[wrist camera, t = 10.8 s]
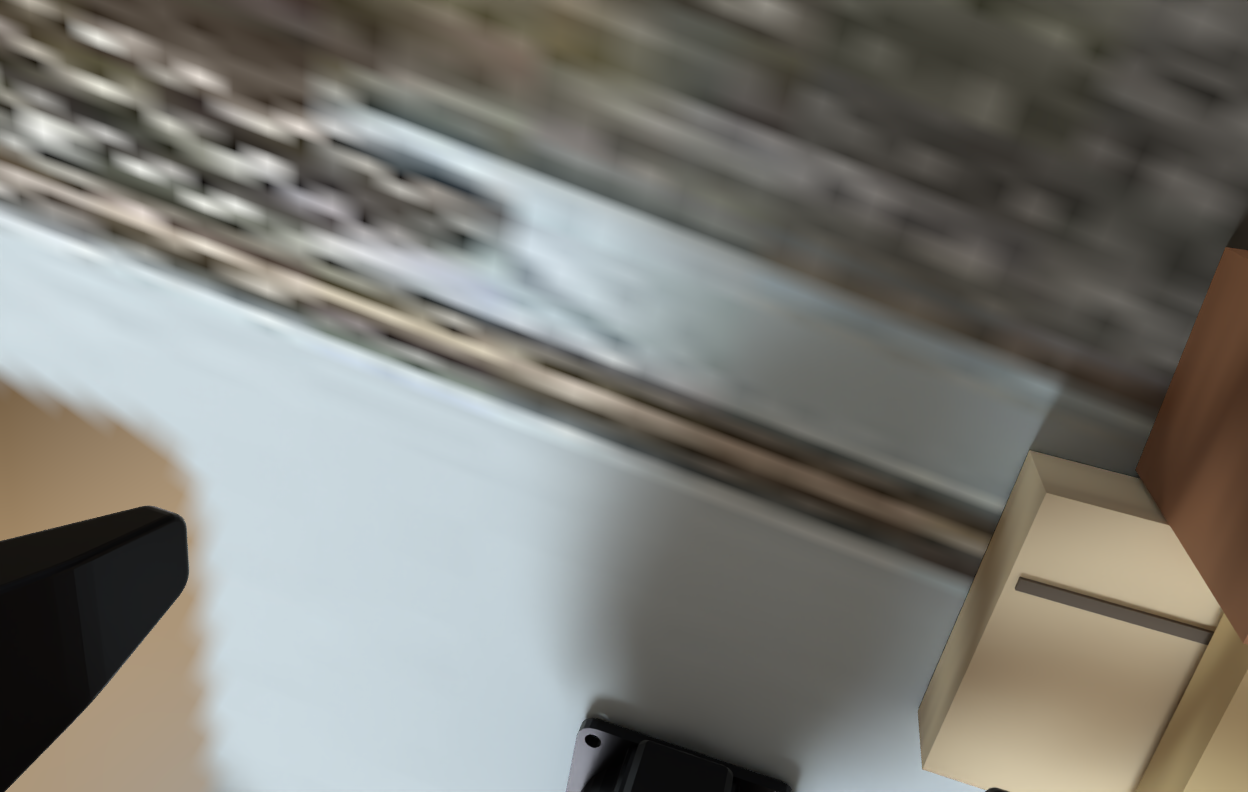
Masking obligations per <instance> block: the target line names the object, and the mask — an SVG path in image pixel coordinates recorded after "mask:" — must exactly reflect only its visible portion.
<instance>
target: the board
mask: <svg viewBox="0 0 1248 792" xmlns="http://www.w3.org/2000/svg"><path fill="white" fill-rule="evenodd" d="M1223 614H1224V612H1223V610H1222V609H1221V607H1220V605H1219V604H1218V602H1217V601H1216V599H1215V597H1214V596H1213V594H1212V593H1211V591H1210V589H1209V588H1208V586H1207V585H1206V583H1205V581H1204V580H1203V578H1202V576H1201V575H1200V573H1199V572H1198V570H1197V568H1196V567H1195V565H1194V564H1193V562H1192V560H1191V559H1190V557H1189V556H1188V554H1187V552H1186V551H1185V549H1184V548H1183V546H1182V544H1181V543H1180V541H1179V539H1178V538H1177V536H1176V535H1175V533H1174V531H1173V530H1172V528H1171V527H1170V525H1169V523H1168V522H1167V520H1166V519H1165V517H1164V515H1163V514H1162V512H1161V511H1160V509H1159V507H1158V506H1157V504H1156V502H1155V501H1154V499H1153V498H1152V496H1151V494H1150V493H1149V491H1148V490H1147V488H1146V486H1145V485H1144V483H1143V482H1142V480H1141V479H1139V478H1136V477H1132V476H1128V475H1124V474H1120V473H1116V472H1112V471H1108V470H1105V469H1101V468H1097V467H1093V466H1089V465H1085V464H1081V463H1077V462H1074V461H1070V460H1066V459H1062V458H1058V457H1054V456H1050V455H1046V454H1043V453H1039V452H1035V451H1031V450H1029V452H1028V455H1027V457H1026V459H1025V462H1024V464H1023V466H1022V469H1021V471H1020V473H1019V476H1018V478H1017V480H1016V483H1015V485H1014V487H1013V490H1012V492H1011V494H1010V497H1009V499H1008V501H1007V504H1006V506H1005V508H1004V511H1003V513H1002V515H1001V518H1000V520H999V522H998V525H997V527H996V530H995V532H994V534H993V537H992V539H991V541H990V544H989V546H988V548H987V551H986V553H985V555H984V558H983V560H982V562H981V565H980V567H979V569H978V572H977V574H976V576H975V579H974V581H973V583H972V586H971V588H970V590H969V593H968V595H967V597H966V600H965V602H964V604H963V607H962V609H961V611H960V614H959V616H958V618H957V621H956V623H955V625H954V628H953V630H952V632H951V635H950V637H949V639H948V642H947V644H946V646H945V649H944V651H943V653H942V656H941V658H940V660H939V663H938V665H937V667H936V670H935V672H934V674H933V677H932V679H931V681H930V684H929V686H928V688H927V691H926V693H925V695H924V698H923V700H922V702H921V705H920V707H919V709H918V720H919V733H920V746H921V760H922V769H923V770H926V771H929V772H932V773H935V774H938V775H941V776H944V777H947V778H950V779H953V780H957V781H960V782H963V783H966V784H969V785H972V786H975V787H978V788H981V789H984V790H988V789H989V788H993V787H996V788H1000V789H1003V790H1006V791H1009V792H1136V790H1137V788H1138V786H1139V784H1140V782H1141V780H1142V778H1143V776H1144V774H1145V771H1146V769H1147V767H1148V765H1149V763H1150V761H1151V759H1152V757H1153V755H1154V753H1155V751H1156V749H1157V747H1158V745H1159V743H1160V741H1161V739H1162V737H1163V735H1164V733H1165V731H1166V729H1167V727H1168V725H1169V723H1170V721H1171V719H1172V717H1173V715H1174V713H1175V711H1176V709H1177V707H1178V705H1179V703H1180V701H1181V699H1182V697H1183V695H1184V693H1185V691H1186V689H1187V687H1188V685H1189V683H1190V681H1191V679H1192V677H1193V675H1194V673H1195V671H1196V669H1197V667H1198V665H1199V663H1200V661H1201V659H1202V657H1203V654H1204V652H1205V650H1206V648H1207V646H1208V644H1209V642H1210V640H1211V638H1212V636H1213V634H1214V632H1215V630H1216V628H1217V626H1218V624H1219V622H1220V620H1221V618H1222V616H1223Z"/></svg>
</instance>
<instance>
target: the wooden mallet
mask: <svg viewBox="0 0 1248 792" xmlns="http://www.w3.org/2000/svg"><path fill="white" fill-rule="evenodd" d="M1135 470H1136V472H1137V474H1138V475H1139V477H1140V478H1141V480H1142V482H1143V483H1144V485H1145V486H1146V488H1147V490H1148V491H1149V493H1150V494H1151V496H1152V498H1153V499H1154V501H1155V502H1156V504H1157V506H1158V507H1159V509H1160V511H1161V512H1162V514H1163V515H1164V517H1165V519H1166V520H1167V522H1168V523H1169V525H1170V527H1171V528H1172V530H1173V531H1174V533H1175V535H1176V536H1177V538H1178V539H1179V541H1180V543H1181V544H1182V546H1183V548H1184V549H1185V551H1186V552H1187V554H1188V556H1189V557H1190V559H1191V560H1192V562H1193V564H1194V565H1195V567H1196V568H1197V570H1198V572H1199V573H1200V575H1201V576H1202V578H1203V580H1204V581H1205V583H1206V585H1207V586H1208V588H1209V589H1210V591H1211V593H1212V594H1213V596H1214V597H1215V599H1216V601H1217V602H1218V604H1219V605H1220V607H1221V609H1222V610H1223V612H1224V614H1223V616H1222V618H1221V620H1220V622H1219V624H1218V626H1217V628H1216V630H1215V632H1214V634H1213V636H1212V638H1211V640H1210V642H1209V644H1208V646H1207V648H1206V650H1205V652H1204V654H1203V657H1202V659H1201V661H1200V663H1199V665H1198V667H1197V669H1196V671H1195V673H1194V675H1193V677H1192V679H1191V681H1190V683H1189V685H1188V687H1187V689H1186V691H1185V693H1184V695H1183V697H1182V699H1181V701H1180V703H1179V705H1178V707H1177V709H1176V711H1175V713H1174V715H1173V717H1172V719H1171V721H1170V723H1169V725H1168V727H1167V729H1166V731H1165V733H1164V735H1163V737H1162V739H1161V741H1160V743H1159V745H1158V747H1157V749H1156V751H1155V753H1154V755H1153V757H1152V759H1151V761H1150V763H1149V765H1148V767H1147V769H1146V771H1145V774H1144V776H1143V778H1142V780H1141V782H1140V784H1139V786H1138V788H1137V790H1136V792H1248V250H1242V249H1235V248H1229V247H1225V250H1224V252H1223V255H1222V257H1221V260H1220V262H1219V265H1218V267H1217V269H1216V272H1215V274H1214V277H1213V279H1212V282H1211V284H1210V287H1209V289H1208V292H1207V294H1206V297H1205V299H1204V302H1203V304H1202V307H1201V309H1200V311H1199V314H1198V316H1197V319H1196V321H1195V324H1194V326H1193V329H1192V331H1191V334H1190V336H1189V339H1188V341H1187V344H1186V346H1185V348H1184V351H1183V353H1182V356H1181V358H1180V361H1179V363H1178V366H1177V368H1176V371H1175V373H1174V376H1173V378H1172V381H1171V383H1170V386H1169V388H1168V390H1167V393H1166V395H1165V398H1164V400H1163V403H1162V405H1161V408H1160V410H1159V413H1158V415H1157V418H1156V420H1155V423H1154V425H1153V427H1152V430H1151V432H1150V435H1149V437H1148V440H1147V442H1146V445H1145V447H1144V450H1143V452H1142V455H1141V457H1140V460H1139V462H1138V464H1137V467H1136V469H1135Z"/></svg>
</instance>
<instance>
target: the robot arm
mask: <svg viewBox="0 0 1248 792" xmlns="http://www.w3.org/2000/svg"><path fill="white" fill-rule="evenodd" d="M188 575H189V561H188V544H187V528H186V523H185V521H184V519H183V518H182V517H181V516H180V515H178V514H176V513H173V512H170V511H167V510H164V509H161V508H158V507H155V506H142V507H138V508H134V509H130V510H126V511H121V512H117V513H113V514H110V515H105V516H101V517H97V518H93V519H89V520H85V521H81V522H77V523H72V524H68V525H64V526H61V527H56V528H52V529H48V530H44V531H40V532H36V533H32V534H28V535H24V536H20V537H15V538H11V539H7V540H3V541H0V792H5V791H6V790H7V789H8V788H9V787H10V786H11V785H12V784H13V783H14V782H15V781H16V780H17V779H18V778H19V777H20V776H21V775H22V774H23V773H24V771H26V769H27V768H28V767H29V766H30V765H31V764H32V763H33V762H34V761H35V760H36V759H37V758H38V757H39V756H40V755H41V754H42V753H43V752H44V751H45V750H46V749H47V748H48V747H49V746H50V745H51V744H52V743H53V742H54V741H55V740H56V739H57V738H58V737H59V736H60V735H61V734H62V733H63V732H64V731H65V730H66V729H67V727H69V726H70V725H71V724H72V723H73V722H74V720H75V719H76V718H77V717H78V716H79V715H80V714H81V713H82V712H83V711H84V710H85V709H86V708H87V707H88V705H89V704H90V703H91V702H92V701H93V700H94V699H95V698H96V696H97V695H98V694H99V693H100V692H101V691H102V690H103V688H104V687H105V686H106V685H107V684H108V683H109V681H110V680H111V679H112V678H113V676H114V675H115V674H116V673H117V672H118V670H119V669H120V668H121V667H122V665H123V664H124V663H125V662H126V660H127V659H128V658H129V657H130V656H131V654H132V653H133V652H134V651H135V649H136V648H137V647H138V645H140V643H141V642H142V641H143V640H144V638H145V637H146V636H147V635H148V633H149V632H150V631H151V630H152V629H153V627H154V626H155V625H156V624H157V622H158V621H159V620H160V618H162V616H163V615H164V614H165V613H166V611H167V610H168V609H169V608H170V606H171V605H172V604H173V603H174V602H175V600H176V599H177V598H178V597H179V595H180V594H181V593H182V591H183V589H184V587H185V585H186V583H187V580H188ZM592 735H595V736H597V737H598V738H595V737H594V736H592ZM566 792H793V791H792V789H791V787H789V786H788V785H787V784H786V783H784V782H782V781H780V780H777V779H774V778H771V777H768V776H765V775H762V774H759V773H756V772H753V771H750V770H747V769H744V768H742V767H739V766H736V765H733V764H730V763H727V762H724V761H721V760H718V759H715V758H712V757H709V756H706V755H703V754H700V753H697V752H694V751H691V750H688V749H685V748H683V747H680V746H677V745H674V744H671V743H668V742H665V741H662V740H659V739H656V738H653V737H650V736H647V735H644V734H641V733H638V732H635V731H632V730H629V729H627V728H624V727H621V726H618V725H615V724H612V723H609V722H606V721H603V720H600V719H595V718H591V719H587V720H585V721H584V722H583V723H582V725H581V727H580V730H579V732H578V734H577V738H576V743H575V748H574V754H573V759H572V764H571V769H570V774H569V779H568V784H567V789H566ZM985 792H1009V791H1006V790H1003V789H1000V788H996V787H993V788H989V789H988V790H987V791H985Z"/></svg>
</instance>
